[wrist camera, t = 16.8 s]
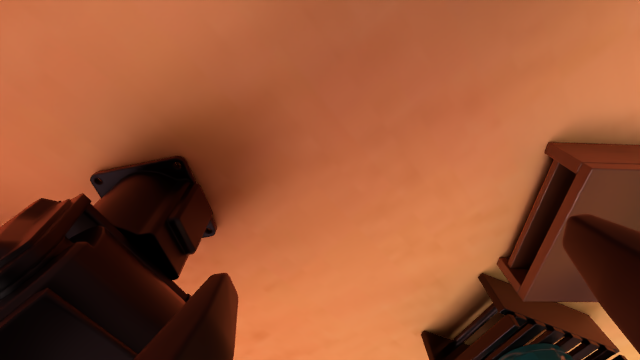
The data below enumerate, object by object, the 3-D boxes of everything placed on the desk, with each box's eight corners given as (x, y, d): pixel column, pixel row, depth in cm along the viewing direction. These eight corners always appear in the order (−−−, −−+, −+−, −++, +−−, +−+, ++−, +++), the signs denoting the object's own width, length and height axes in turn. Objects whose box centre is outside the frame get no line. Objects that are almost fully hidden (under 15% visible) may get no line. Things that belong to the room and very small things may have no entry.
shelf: (496, 264, 27) (532, 316, 22) (548, 142, 21) (609, 179, 17) (600, 265, 27) (655, 316, 23) (676, 146, 22) (768, 183, 17)
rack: (420, 334, 31) (438, 388, 27) (482, 272, 27) (514, 324, 23) (520, 365, 34) (550, 419, 30) (588, 314, 30) (635, 367, 26)
